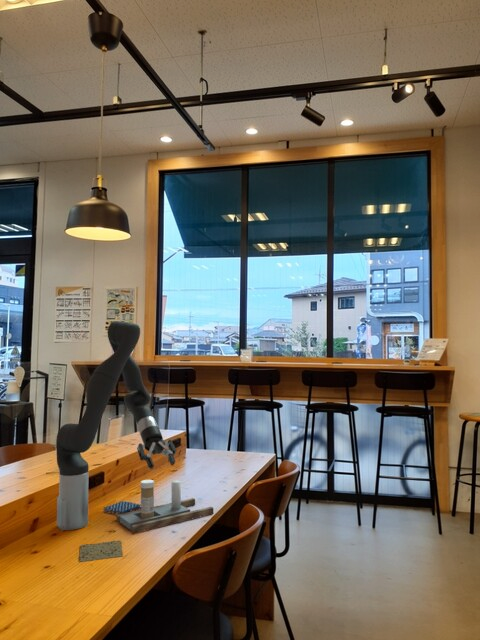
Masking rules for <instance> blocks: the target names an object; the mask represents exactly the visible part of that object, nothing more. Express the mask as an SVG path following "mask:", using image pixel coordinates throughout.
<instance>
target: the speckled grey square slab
mask: <svg viewBox="0 0 480 640" xmlns="http://www.w3.org/2000/svg"><path fill="white" fill-rule="evenodd" d="M123 555H124V553H123V544H122V540H112V541H105V542H104V541H103V542H97V543H86V544H80V546H79V556H78V563H86V562H93V561H99V560H101V561H102V560H107V559H116V558H123V557H124V556H123Z"/></svg>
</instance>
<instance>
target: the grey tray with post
mask: <svg viewBox="0 0 480 640" xmlns="http://www.w3.org/2000/svg"><path fill="white" fill-rule="evenodd" d="M181 483H182V482H181V481H180V480H173V481H171V503H172V505H167V506H163V507H158V508H154V517H151V518H147V519H143V520H142V519H141V511H140V512H136V513H131V514H127V515H122V516H120V522H119V523H120V524H121V525H123V526H124V527H126V528H127V529H128V530H129V531H132V525H135V524H140V523H144V522H148V521H152V520H157V519H161V518H165V517H169V516H173V515H178V514H182V513H186V512H190V511H191V509H190V508H187V507H184V506H182V505H181V501H182V499H181V495H182V494H181V493H182V491H181V490H182V489H181V488H182V486H181V485H182V484H181Z"/></svg>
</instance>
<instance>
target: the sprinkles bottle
mask: <svg viewBox="0 0 480 640" xmlns="http://www.w3.org/2000/svg"><path fill="white" fill-rule="evenodd" d="M139 486H140V504H141V509H140V510H141V518H140V519H142V520H143V519H147V518H151V517H154V507H155V493H154V492H155V491H154V490H155V480H154V479H153V480H152V479H143V480H141V481H140V485H139Z"/></svg>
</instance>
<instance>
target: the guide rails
mask: <svg viewBox="0 0 480 640" xmlns="http://www.w3.org/2000/svg"><path fill="white" fill-rule="evenodd" d="M167 505H172V502H169V503H165V504H161V505H154V508H158V507H163V506H167ZM181 505H182V506H184V507H186V508H187V507H191V506H190V505H192V506H195V505H196V499H195V498H187V499H181ZM140 511H141V509H138V510H136V511H132V512H128V513H123V514H119V515H116V522H117V523H120V516H122V515H127V514H131V513H136V512H140ZM209 514H210V515H213V514H214V506H213V507H212V506H208V507H205V508H204V507H203V508H201V509H200V508H199V509H195V510H190V512H186V513H182V514H178V515H173V516H169V517H165V518H161V519H157V520H152V521H148V522H144V523H140V524H135V525H132V530H131V533H133V534H136V533H137V534H138V533H141V532H144V530H145V531H149V530H152V528H153V529H157V528H160V527H165V526H168V525H172V524H177V523H181V522H185V521H189V520H193V519H197V518H201V517H205V516H204V515H206V516H208V515H209ZM200 516H201V517H200ZM196 517H197V518H196ZM192 518H193V519H192ZM148 529H149V530H148Z"/></svg>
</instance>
